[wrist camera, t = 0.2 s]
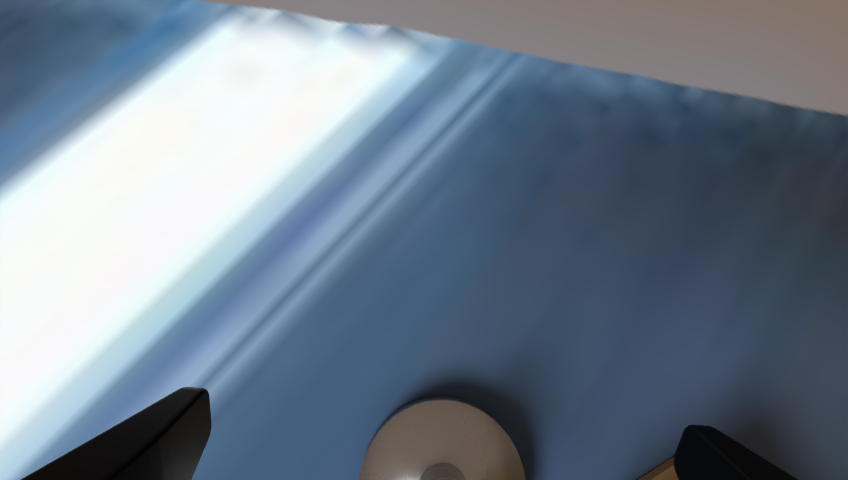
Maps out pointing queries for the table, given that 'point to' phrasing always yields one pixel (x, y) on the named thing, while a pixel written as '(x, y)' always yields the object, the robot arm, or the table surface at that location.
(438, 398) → the cylinder
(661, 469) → the walnut stand
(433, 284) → the table surface
